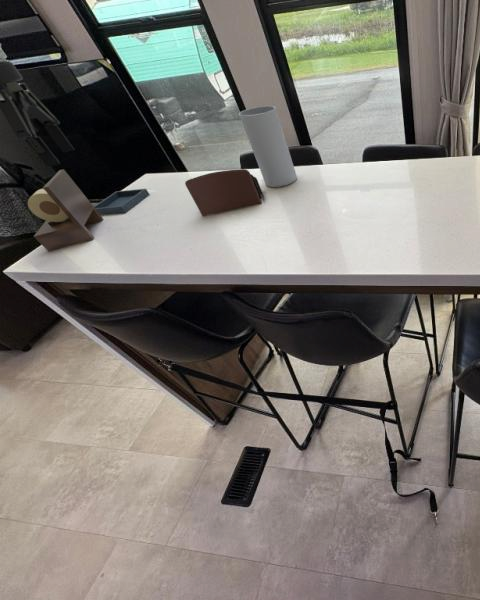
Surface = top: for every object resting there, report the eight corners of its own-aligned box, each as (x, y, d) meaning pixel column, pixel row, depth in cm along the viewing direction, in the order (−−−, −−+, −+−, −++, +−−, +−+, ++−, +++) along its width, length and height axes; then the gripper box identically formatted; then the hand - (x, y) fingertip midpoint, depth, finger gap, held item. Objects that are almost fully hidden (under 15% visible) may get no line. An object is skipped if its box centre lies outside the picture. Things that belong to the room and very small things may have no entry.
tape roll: (44, 225, 98) (18, 198, 92) (49, 219, 102) (24, 192, 96) (78, 217, 101) (55, 190, 95) (82, 211, 104) (59, 184, 98)
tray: (126, 212, 118) (121, 206, 117) (93, 215, 119) (88, 209, 117) (149, 194, 130) (145, 188, 128) (120, 197, 130) (116, 191, 129)
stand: (52, 255, 99) (-6, 198, 86) (67, 233, 110) (17, 178, 97) (97, 244, 102) (47, 186, 89) (106, 223, 113) (63, 169, 100)
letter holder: (263, 208, 111) (247, 167, 101) (204, 220, 108) (181, 179, 98) (264, 196, 118) (248, 157, 109) (208, 207, 115) (187, 168, 106)
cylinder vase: (269, 177, 132) (243, 108, 115) (299, 173, 132) (278, 104, 116) (263, 189, 123) (234, 117, 106) (295, 185, 123) (272, 112, 106)
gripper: (-17, 64, 66) (64, 168, 80) (28, 56, 83) (88, 143, 97) (-64, 69, 64) (28, 175, 78) (-8, 60, 81) (59, 148, 95)
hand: (62, 157), depth 88 cm, fingers open, 13 cm apart
